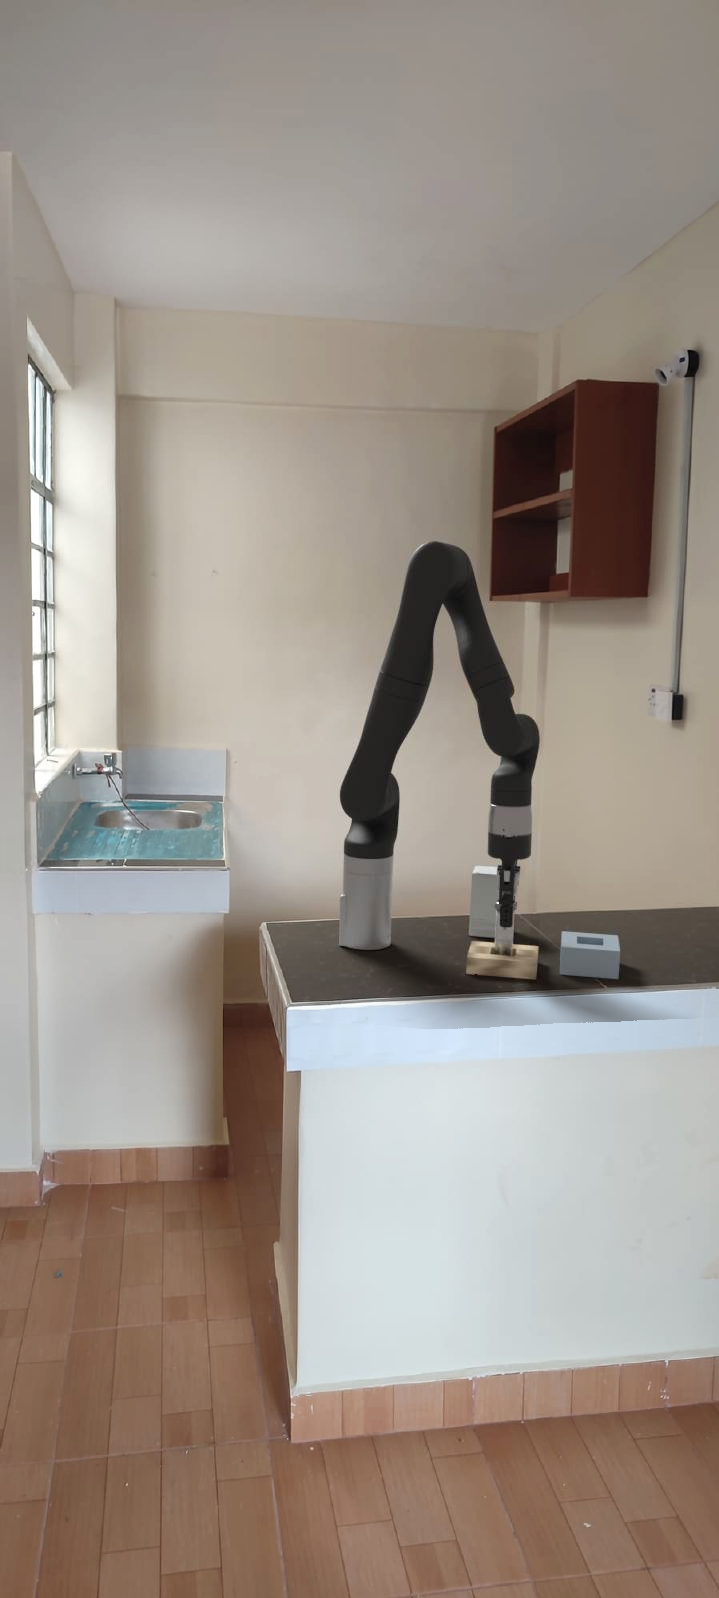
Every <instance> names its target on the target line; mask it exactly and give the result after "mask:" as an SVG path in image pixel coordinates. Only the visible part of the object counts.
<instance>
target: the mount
mask: <svg viewBox="0 0 719 1598" xmlns="http://www.w3.org/2000/svg"><path fill="white" fill-rule="evenodd" d="M494 946H495V942H491V941H490V942H489V941H475V940H471V941H470V945H469V949H468V952H467V955H466V967H465V968H466V971H465V974H466V975H475V974H477V976H489V977H498V978H501V977H502V978H514V979H526V980H535V981H536V980H537V971H538V965H539V964H538V961H539V960H538V959H539V946H538V945H528V944H527V945H526V944H514V943H513V952H512V956H507V955H494Z"/></svg>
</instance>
